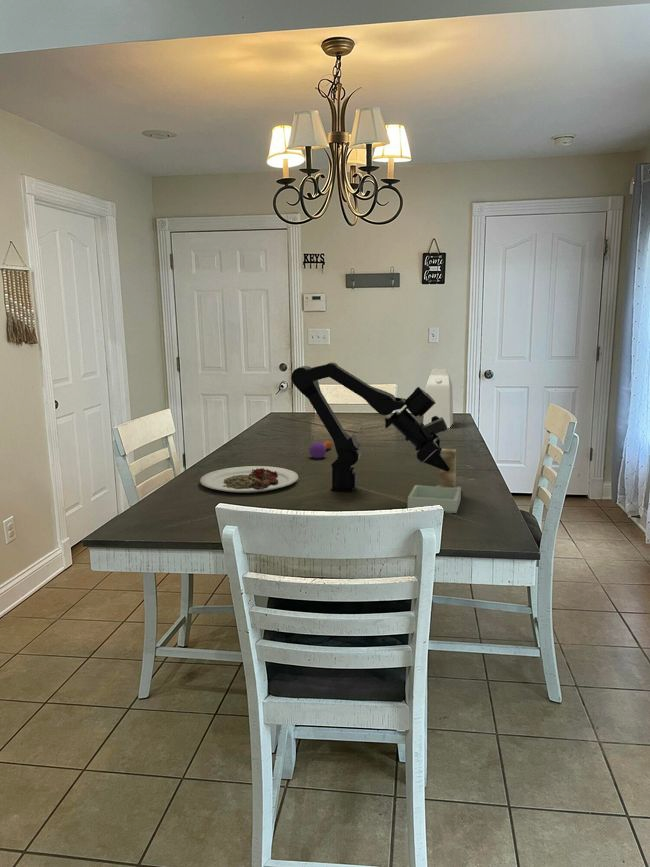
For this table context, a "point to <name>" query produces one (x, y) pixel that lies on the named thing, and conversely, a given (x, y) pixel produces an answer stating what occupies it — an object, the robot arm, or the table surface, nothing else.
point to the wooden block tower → (449, 477)
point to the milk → (440, 397)
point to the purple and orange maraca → (319, 449)
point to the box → (435, 497)
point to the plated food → (249, 479)
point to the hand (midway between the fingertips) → (448, 466)
